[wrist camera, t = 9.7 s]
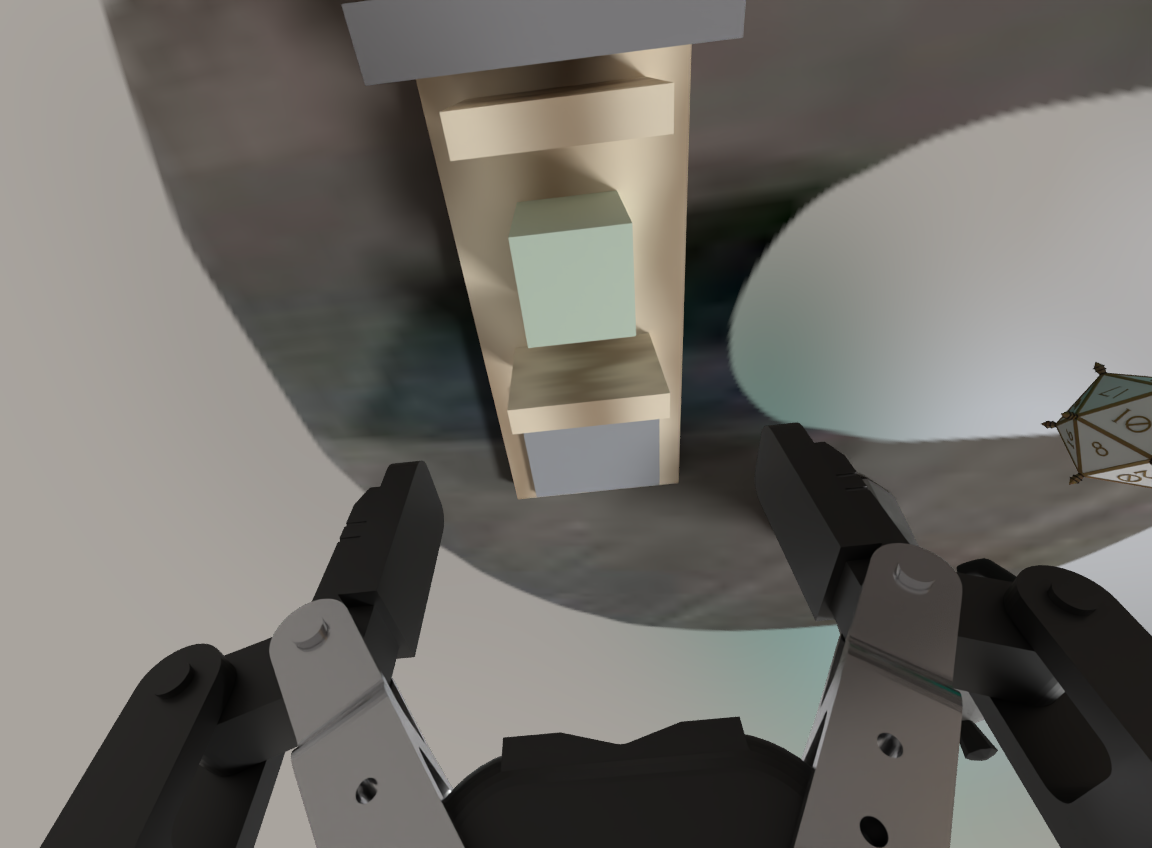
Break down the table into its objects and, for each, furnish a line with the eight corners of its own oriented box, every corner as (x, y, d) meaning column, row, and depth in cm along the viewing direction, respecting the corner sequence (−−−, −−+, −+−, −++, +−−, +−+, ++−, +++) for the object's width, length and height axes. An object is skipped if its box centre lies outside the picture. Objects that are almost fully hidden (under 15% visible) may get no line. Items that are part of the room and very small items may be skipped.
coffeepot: (778, 573, 46) (881, 808, 32) (741, 515, 41) (842, 762, 27) (955, 506, 42) (1168, 745, 27) (936, 432, 37) (1184, 676, 22)
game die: (1050, 385, 39) (1123, 508, 36) (989, 394, 36) (1063, 532, 33) (1216, 324, 31) (1325, 475, 28) (1158, 328, 28) (1275, 500, 25)
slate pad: (657, 375, 31) (659, 379, 31) (658, 480, 36) (659, 484, 36) (515, 390, 31) (515, 395, 31) (536, 492, 37) (536, 497, 36)
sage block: (616, 190, 25) (632, 223, 20) (621, 287, 28) (636, 336, 23) (516, 202, 25) (508, 237, 20) (532, 297, 28) (528, 348, 23)
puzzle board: (697, -578, 14) (820, -1113, 8) (674, 469, 38) (699, 553, 31) (284, -510, 14) (68, -963, 8) (519, 485, 38) (512, 571, 32)
